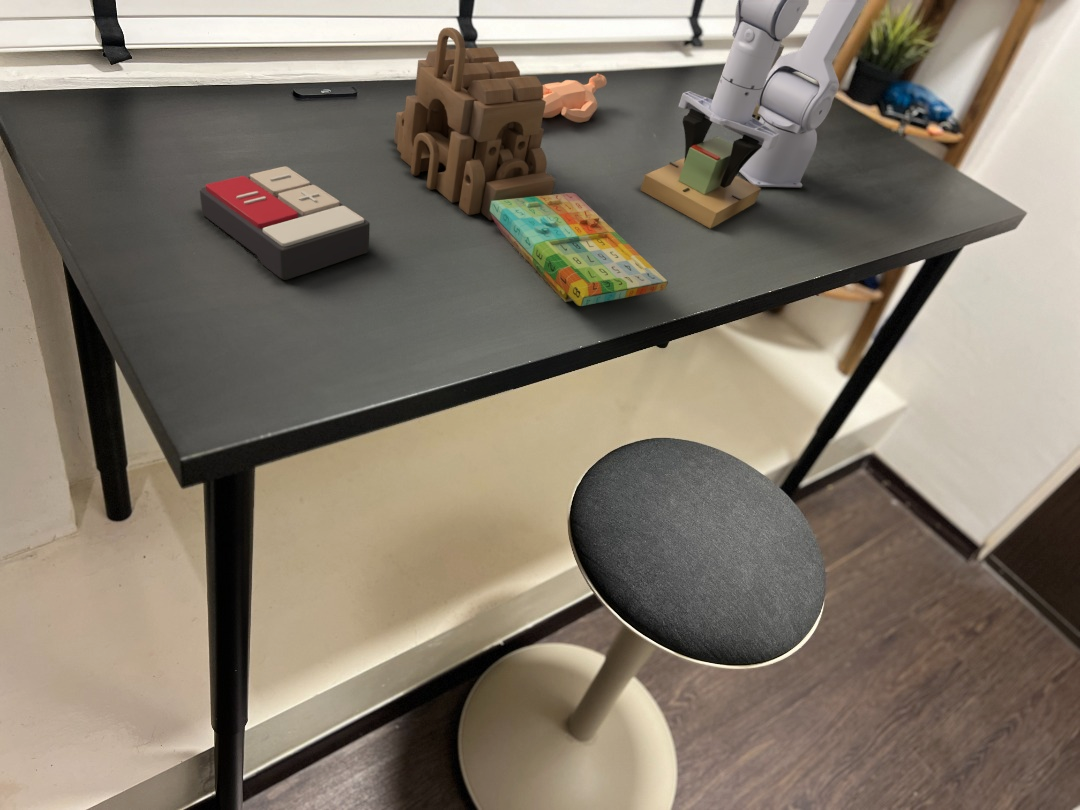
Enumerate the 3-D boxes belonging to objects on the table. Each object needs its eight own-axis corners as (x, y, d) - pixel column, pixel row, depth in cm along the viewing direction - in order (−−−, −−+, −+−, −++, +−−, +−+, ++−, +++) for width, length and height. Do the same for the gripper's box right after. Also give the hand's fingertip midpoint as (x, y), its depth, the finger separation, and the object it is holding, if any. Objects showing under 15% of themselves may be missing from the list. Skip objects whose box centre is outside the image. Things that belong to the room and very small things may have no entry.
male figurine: (471, 88, 117) (582, 58, 131) (468, 120, 121) (576, 87, 135) (520, 118, 113) (629, 84, 127) (516, 150, 116) (623, 113, 130)
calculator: (287, 161, 89) (371, 216, 83) (288, 196, 92) (370, 252, 85) (196, 181, 82) (281, 243, 75) (201, 218, 85) (283, 281, 78)
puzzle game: (573, 185, 97) (670, 274, 86) (564, 218, 100) (657, 309, 89) (492, 193, 91) (585, 290, 80) (485, 228, 94) (574, 326, 83)
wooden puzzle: (560, 207, 103) (596, 63, 90) (470, 226, 94) (496, 70, 82) (464, 132, 113) (485, -5, 101) (376, 144, 105) (387, -5, 93)
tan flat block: (687, 168, 121) (693, 152, 119) (755, 203, 116) (762, 187, 114) (639, 190, 111) (644, 172, 110) (711, 229, 107) (717, 212, 105)
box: (704, 168, 116) (717, 134, 112) (730, 181, 114) (744, 147, 111) (677, 180, 110) (690, 145, 107) (704, 194, 109) (717, 159, 105)
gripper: (681, 63, 103) (651, 159, 112) (777, 108, 97) (737, 205, 106) (707, 56, 107) (675, 149, 116) (800, 98, 102) (759, 192, 111)
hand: (706, 175), depth 112 cm, fingers open, 6 cm apart
